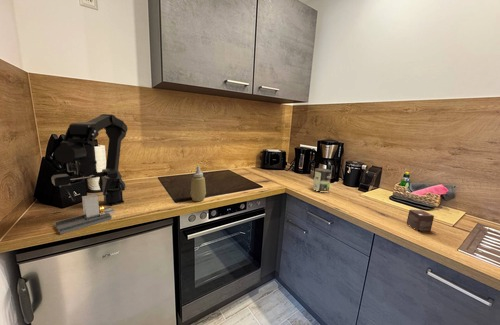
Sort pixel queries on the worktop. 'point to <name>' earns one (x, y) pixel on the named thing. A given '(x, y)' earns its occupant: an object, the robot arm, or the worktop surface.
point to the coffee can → (322, 179)
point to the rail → (80, 222)
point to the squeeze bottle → (198, 186)
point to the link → (93, 207)
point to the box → (420, 220)
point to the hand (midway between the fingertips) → (89, 197)
